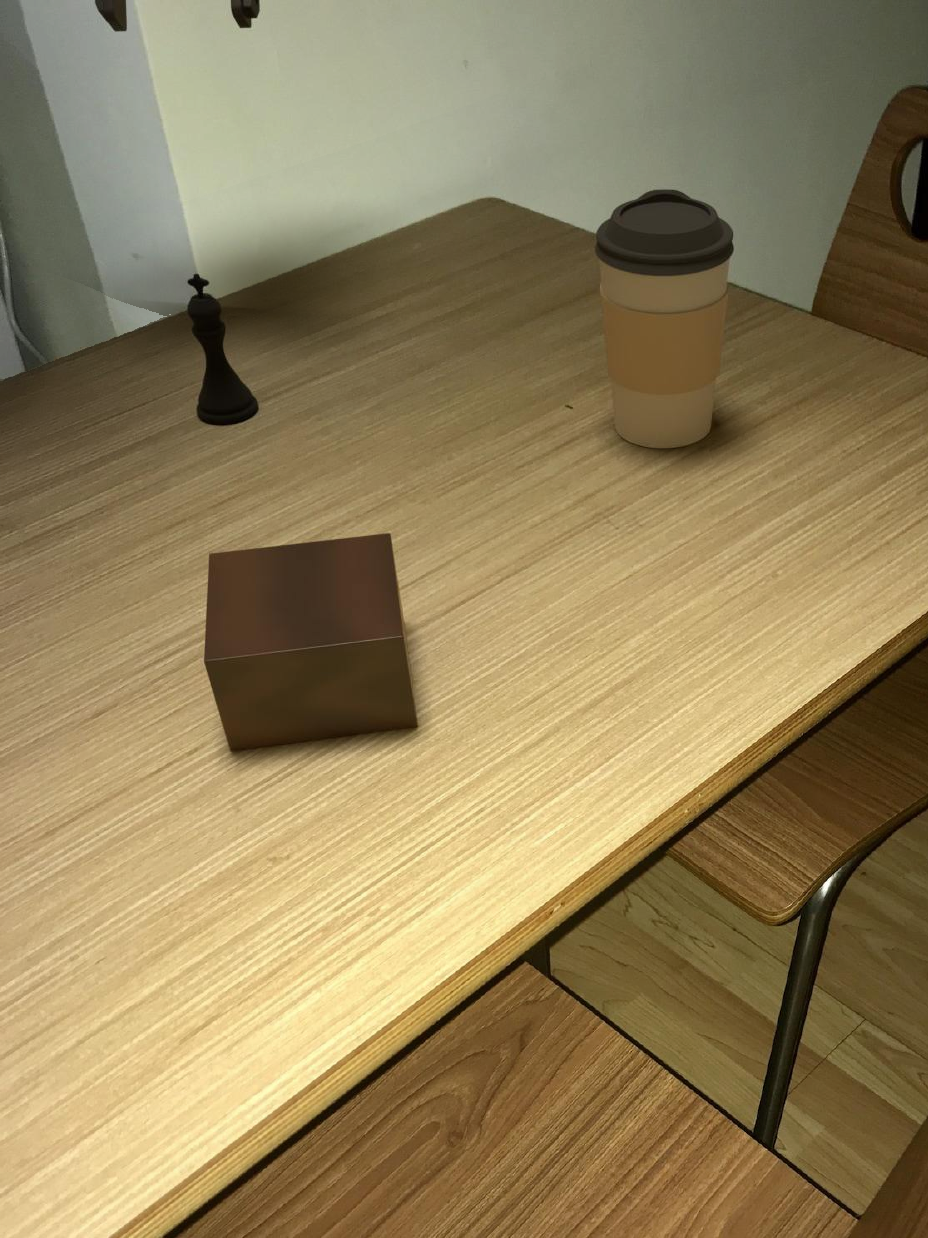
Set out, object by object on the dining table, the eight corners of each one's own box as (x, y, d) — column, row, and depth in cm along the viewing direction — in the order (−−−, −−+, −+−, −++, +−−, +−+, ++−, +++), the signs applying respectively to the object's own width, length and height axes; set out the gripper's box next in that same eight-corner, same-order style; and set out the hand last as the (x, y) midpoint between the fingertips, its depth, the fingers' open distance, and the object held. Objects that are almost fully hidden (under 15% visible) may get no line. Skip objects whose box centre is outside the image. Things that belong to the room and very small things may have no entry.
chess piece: (212, 394, 100) (179, 258, 93) (267, 398, 99) (238, 263, 92) (187, 422, 97) (151, 284, 90) (244, 427, 96) (213, 289, 89)
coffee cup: (728, 456, 92) (739, 234, 82) (598, 457, 93) (591, 235, 82) (723, 395, 99) (732, 181, 88) (601, 395, 99) (595, 182, 88)
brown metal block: (230, 751, 71) (203, 661, 67) (232, 641, 78) (208, 553, 74) (418, 726, 72) (403, 636, 68) (404, 620, 79) (390, 532, 75)
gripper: (37, -269, 85) (47, -5, 86) (260, -278, 84) (267, -12, 85) (89, -186, 92) (97, 56, 93) (293, -194, 92) (300, 50, 93)
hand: (178, 23), depth 89 cm, fingers open, 8 cm apart
